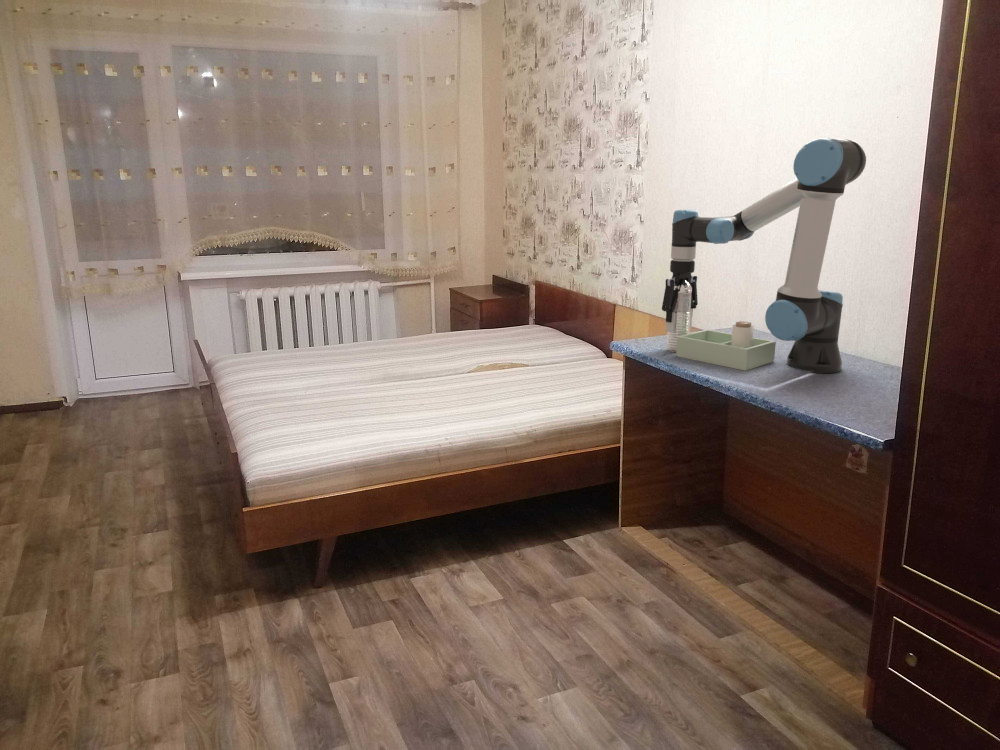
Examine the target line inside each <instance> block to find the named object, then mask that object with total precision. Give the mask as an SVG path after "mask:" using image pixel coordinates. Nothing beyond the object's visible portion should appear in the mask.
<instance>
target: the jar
mask: <svg viewBox="0 0 1000 750" xmlns="http://www.w3.org/2000/svg"><path fill="white" fill-rule="evenodd" d="M754 328H755V326H754V325H752V322H750V321H744V320H743V321H741V320H740V321H735V324H733V325H732V328H731V329H732V333H731V334H732V342H731V346H735V347H741V348H749V347H752V343H753V338H754V332H755V331H754V330H755V329H754Z"/></svg>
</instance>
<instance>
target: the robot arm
mask: <svg viewBox="0 0 1000 750" xmlns="http://www.w3.org/2000/svg"><path fill="white" fill-rule="evenodd" d="M866 164H867V154H866V151H865V150H864V147H862V145H861V144H859V143H858V142H856V140H852V139H846V138H845V139H843V138H832V137H831V138H830V137H826V138H825V137H824V138H823V137H822V138H816V139H813V140H810V141H808V142H807V143H805V144H804V145H803V146H802V147H801V148H800V149H799V150H798V152H797V153H796V155H795V158H794V160H793V166H792V167H793V172H794V175H795V177H796V178H795V179H792V180H791V181H789V182H788V183H786V184H784V185H783V186H781V187H779V188H777V189H776V190H773V192H771V193H769V194H768V195H766V196H764V197H762V198H760V199H759V200H758V201H756V202H754V203H752V204H751V205H749V206H748V207H746V208H744V209H743V210H741V211H739V212H737V213H736V214H734V215H731V216H719V217H709V216H708V217H706V216H705V217H704V216H703V217H701V216H699V212H698V210H697V209H677V210H674V212H673V218H672V223H671V228H672V229H671V232H672V233H671V248H670V249H671V251H670V258H671V260H670V265H669V271H670V272H671V273H672V277H671V278H666V279H665V289H664V293H663V301H662V306H661V310H662V311H663V312H665V323H666V324H665V332H666V333H668V332H671V333H674V325H675V312H673V311H674V308H675V305H676V302H677V299H678V292H679V291H680V288H681V286H682V284H684V283H685V280H687V281H688V282H689V283H690V285H691V286H692V292H691V308H690V312H691V314H690V328H689V330H691V329H692V325H693V324H692V322H693V311H694V309H696V308H697V306H698V305H699V304H698V288H697V285H698V284H697V283H698V276H697V275H692V273H695V267H696V266H695V265H696V262H695V259H696V251H697V243H699V242H700V243H707V244H714V245H719V244H725V245H726V244H728V243H729V242H733V241H737V242H738V241H744V240H747V239H749V238H751V237H752V236H753V235H754V234H755V232H756V231H757V230H760V229H761V228H763V227H765V226H767V225H769V224H770V223H773V222H774V221H776V220H778V219H779V218H782V217H783V216H784V215H787V214H789V213H790V212H791V211H794V210H795V209H798V208H799V209H798V214H797V219H796V223H795V229H794V234H793V240H792V244H791V249H790V255H789V260H788V265H787V271H786V275H785V276H786V277H785V281H784V283H783V285H781V286H780V287H778V289H777V291H776V297H775V301H773V302H772V303H771V304H770V305H769V306H768V307H767V309H766V311H765V315H764V320H765V326H766V328H767V329H768V330H769V332H770V334H771V335H772V336H773V337H775V338H776V339H778V340H780V341H784V342H790V341H791V342H792V341H794V342H793V345H792V346H791V349H790V350H789V353H788V354H787V355H788V356H787V358H786V365H788V366H790V367H792V368H794V369H799V370H803V371H811V372H810V373H813V374H832V373H833V374H834V373H839V372H840V371H842V365H843V360H842V356H841V353H840V347H839V336H840V327H841V319H842V318H841V317H842V311H843V306H844V304H843V298H844V297H843V295H842V294H841V292H838V291H837V292H836V291H831V290H830V291H829V290H822V289H818V287H819V283H820V278H821V273H822V268H823V262H824V260H825V259H824V257H825V253H826V250H827V248H826V247H827V244H828V239H829V234H830V229H831V225H832V220H833V215H834V210H835V206H836V201H837V199H839V198H840V197H841V196H843V195H844V192H845V188H846V186H847V185H849V184H851V183H853V182H854V181H855V180H857V179H858V178H859V177H860V176H861V175H862V173H863V171H864V170H865V168H866ZM679 285H680V286H679ZM674 286H679V289H678V290H674Z"/></svg>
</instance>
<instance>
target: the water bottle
mask: <svg viewBox="0 0 1000 750" xmlns="http://www.w3.org/2000/svg"><path fill="white" fill-rule="evenodd" d="M679 286H680V285H679ZM679 286H674V290H678V289H679ZM691 292H692V286H691V285H690V283H689V282H688V281H687V280H685V283H684V284H682V286H681V288H680V291H679V292H678V299H677V302H676V305H675V308H674V311H673V312H675V325H674V333H671V332H667V336H666V337H667V338H666V350H667V351H668V352H670V353H675V354H676V352H677V337H678V336H682V335H686V334H690V329H689V328H690V314H691V312H690V308H691Z"/></svg>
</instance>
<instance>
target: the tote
mask: <svg viewBox="0 0 1000 750" xmlns="http://www.w3.org/2000/svg"><path fill="white" fill-rule="evenodd" d="M731 342H732V333H730V332H723V331H720V330H719V331H718V330H711V329H703V330H700V331H695V332H689V334H686V335H682V336H678V337H677V352H676V353H675V354H676V357H679V358H684V359H687V360H692V361H693V360H694V361H698V362H702V363H703V362H704V363H707V364H712V365H716V366H722V367H725V368H726V367H727V368H730V369H736V370H740V371H741V370H742V371H745V372H746V371H749V370H751V369H755V368H758V367H760V366H764V365H767V364H770V363H774V362H775V354H776V346H777V345H776V344H777V343H776V341H775V340H769V339H765V338H764V339H763V338H757V337H753V343H752V347H749V348H741V347H735V346H731Z"/></svg>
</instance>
